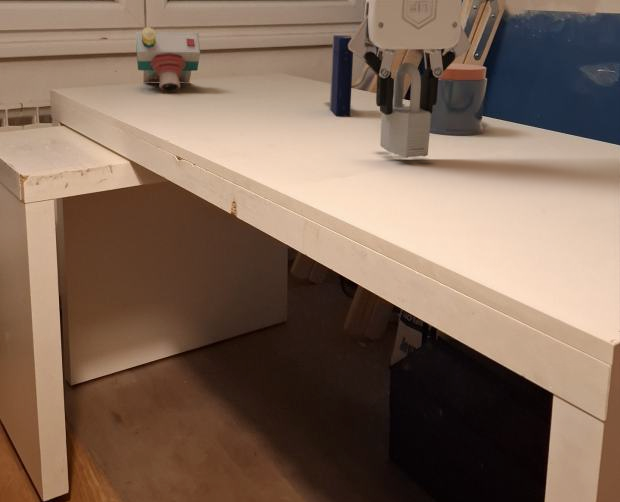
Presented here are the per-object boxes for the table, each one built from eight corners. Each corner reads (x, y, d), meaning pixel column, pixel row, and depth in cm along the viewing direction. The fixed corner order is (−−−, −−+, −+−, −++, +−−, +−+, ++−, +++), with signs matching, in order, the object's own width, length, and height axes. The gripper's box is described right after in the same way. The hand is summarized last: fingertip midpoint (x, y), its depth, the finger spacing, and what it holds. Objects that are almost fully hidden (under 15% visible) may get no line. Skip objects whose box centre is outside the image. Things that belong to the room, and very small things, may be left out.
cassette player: (350, 116, 122) (354, 36, 117) (336, 116, 122) (339, 36, 116) (343, 109, 129) (346, 33, 123) (329, 109, 128) (332, 33, 123)
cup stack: (469, 123, 119) (476, 63, 115) (492, 135, 111) (501, 70, 107) (409, 123, 118) (414, 62, 114) (428, 135, 109) (434, 69, 105)
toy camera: (140, 116, 151) (140, 72, 132) (136, 73, 152) (136, 22, 133) (196, 116, 154) (204, 72, 134) (192, 73, 154) (199, 23, 135)
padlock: (375, 147, 92) (379, 60, 88) (404, 145, 93) (410, 59, 89) (401, 159, 86) (406, 66, 82) (432, 156, 87) (439, 65, 83)
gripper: (346, -70, 75) (341, 119, 83) (505, -67, 78) (486, 116, 86) (331, -66, 82) (328, 109, 90) (479, -64, 84) (463, 106, 92)
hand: (405, 110), depth 88 cm, fingers closed on padlock, 4 cm apart
